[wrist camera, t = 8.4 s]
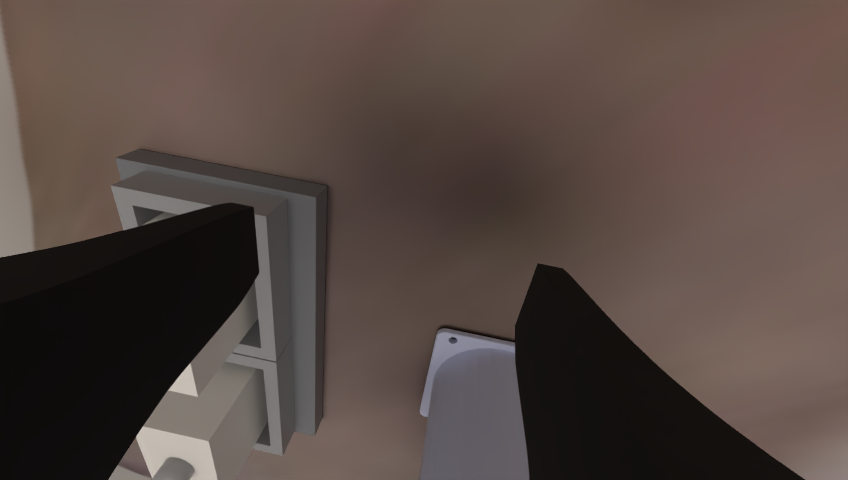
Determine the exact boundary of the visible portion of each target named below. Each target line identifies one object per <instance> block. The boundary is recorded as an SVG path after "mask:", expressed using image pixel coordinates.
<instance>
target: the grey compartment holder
mask: <svg viewBox="0 0 848 480" xmlns="http://www.w3.org/2000/svg"><path fill="white" fill-rule="evenodd" d="M115 159H116V163H117V166H118V170H119V174H120V177H121V181H120V182H118V183H115V184H113V185H111V188H112V192H113V195H114V199H115V202H116V205H117V209H118V212H119V216H120V219H121V223H122V226H123V230H127V229H131V228H135V227H138V226H142V225H144V224H145V223H147V222H149V221H150V220H152V219H154V218H155V217H157V216H159V215H160V214H162V213H164V212H168V213H173V214H178V215H180V214H184V213H187V212H191V211H195V210H198V209H202V208H206V207H210V206H214V205H218V204H223V203H229V202H232V203H237V204H242V205H247V206H252V207H254V215H255V227H256V238H257V250H258V261H259V275H258V276H257V278H256V280H255V288H256V298H257V309H258V319H257V320H256V322H255V323H254V324H253V326H252V327H251V328H250V330H249V331H248V332H247V333H246V335H245V336H244V337H243V339H242V340H241V341H240V343H239V344H238V345H237V347H236V348H235V349H234V351H233V352H232V353H231V354H230V356H229V357H228V358H227V360H226V361H225V362H224V364H223V365H222V366H221V368H220V369H219V370H218V371H217V373H216V374H215V375H214V377H213V378H212V379H211V381H210V382H209V383H208V385H207V386H206V387H205V389H204V390H203V391H202V392H201V394H200V395H199V396H198V397H196V396H191V395H187V394H183V393H178V392H174V391H169V390H168V391H167V392H166V394H165V395H164V397H163V398H162V400H161V401H160V403H159V404H158V405H157V407H156V408H155V410H154V411H153V413H152V414H151V415H150V417H149V418H148V420H147V421H146V423H145V424H144V426H143V427H142V428H141V430H140V431H139V433H138V434H137V436H136V439H137V441H138V444H139V446H140V449H141V451H142V454H143V456H144V459H145V461H146V464H147V466H148V469H149V471H150V474H151V477H152V479H151V480H236V479H237V477H238V475H239V473H240V471H241V470H242V468H243V466H244V464H245V462H246V460H247V458H248V457H249V455H250V453H251V451H252V449H255V450H259V451H264V452H268V453H273V454H277V455H282V456H283V454H284V452H285V450H286V448H287V445H288V443H289V441H290V439H291V437H292V435H293V433H294V431H295V432H300V433H304V434H309V435H313V436H315V434H316V432H317V429H318V427H319V424H320V422H321V420H322V411H323V365H324V318H325V272H326V225H327V186H326V185H321V184H316V183H311V182H306V181H301V180H296V179H291V178H285V177H280V176H275V175H270V174H265V173H260V172H255V171H250V170H244V169H239V168H234V167H229V166H224V165H219V164H214V163H209V162H203V161H198V160H193V159H188V158H183V157H178V156H173V155H168V154H162V153H157V152H152V151H147V150H142V149H138V150H135V151H132V152H130V153H127V154H124V155H122V156H119V157H116V158H115Z"/></svg>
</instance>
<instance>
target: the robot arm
mask: <svg viewBox="0 0 848 480" xmlns="http://www.w3.org/2000/svg"><path fill="white" fill-rule="evenodd" d="M258 275H259V261H258V250H257V238H256V227H255V215H254V207H252V206H247V205H242V204H237V203H232V202H229V203H223V204H218V205H214V206H210V207H206V208H202V209H198V210H195V211H191V212H187V213H184V214H180V215H177V216H173V217H170V218H166V219H163V220H159V221H156V222H152V223H149V224H145V225H142V226H138V227H135V228H131V229H127V230H123V231H119V232H115V233H111V234H108V235H104V236H100V237H96V238H92V239H88V240H84V241H80V242H76V243H71V244H67V245H62V246H58V247H53V248H48V249H43V250H38V251H33V252H28V253H23V254H18V255H12V256H7V257H1V258H0V480H108V479H109V477H110V476H111V474H112V473H113V471H114V469H115V468H116V467H117V465H118V463H119V462H120V460H121V459H122V457H123V456H124V454H125V453H126V451H127V450H128V448H129V447H130V445H131V444H132V442H133V441H134V439H135V437H136V436H137V434H138V433H139V431H140V430H141V428H142V427H143V426H144V424H145V423H146V421H147V420H148V418H149V417H150V415H151V414H152V413H153V411H154V410H155V408H156V407H157V405H158V404H159V403H160V401H161V400H162V398H163V397H164V395H165V394H166V392H167V391H168V390H169V389H170V387H171V386H172V385H173V384H174V382H175V381H176V380H177V378H178V377H179V376H180V375H181V373H182V372H183V371H184V370H185V369H186V368H187V366H188V365H189V364H190V363H191V362H192V361H193V359H194V358H195V357H196V356H197V355H198V354H199V352H200V351H201V350H202V349H203V348H204V346H205V345H206V344H207V343H208V342H209V341H210V339H211V338H212V337H213V336H214V335H215V334H216V332H217V331H218V330H219V329H220V328H221V327H222V325H223V324H224V323H225V322H226V321H227V319H228V318H229V317H230V316H231V315H232V313H233V312H234V311H235V310H236V308H237V307H238V306H239V305H240V303H241V302H242V300H243V299H244V297H245V296H246V294H247V293H248V291H249V290H250V288H251V286H252V285H253V283H254V281H255V280H256V278H257V276H258ZM451 337H454V338H456V339H451ZM420 414H421V415H423V416H425V417H428V420H427V427H426V434H425V441H424V448H423V455H422V462H421V469H420V476H419V480H805V479H803V478H802V477H800V476H799V475H798V474H796V473H795V472H793V471H792V470H790V469H789V468H787V467H786V466H785V465H783V464H782V463H780V462H779V461H777V460H776V459H775V458H773V457H772V456H770V455H769V454H768V453H766V452H765V451H764V450H762V449H761V448H759V447H758V446H757V445H755V444H754V443H753V442H751V441H750V440H749V439H747V438H746V437H745V436H743V435H742V434H741V433H739V432H738V431H737V430H735V429H734V428H732V427H731V426H730V425H728V424H727V423H726V422H725V421H723V420H722V419H721V418H719V417H718V416H717V415H716V414H714V413H713V412H712V411H710V410H709V409H708V408H707V407H705V406H704V405H703V404H702V403H701V402H699V401H698V400H697V399H696V398H695V397H693V396H692V395H691V394H690V393H689V392H687V391H686V390H685V389H684V388H683V387H682V386H680V385H679V384H678V383H677V382H676V381H674V380H673V379H672V378H671V377H670V376H669V375H667V374H666V373H665V372H664V371H663V370H662V369H661V368H660V367H659V366H657V365H656V364H655V363H654V362H653V361H652V360H651V359H650V358H649V357H648V356H647V355H646V354H645V353H644V352H643V351H642V350H641V349H640V348H639V347H638V346H636V345H635V344H634V343H633V342H632V341H631V340H630V339H629V338H628V337H627V336H626V335H625V334H624V333H623V332H622V331H621V330H620V329H619V328H618V326H617V325H616V324H615V323H614V322H613V321H612V320H611V319H610V318H609V317H608V316H607V315H606V314H605V313H604V312H603V311H602V310H601V308H600V307H599V306H598V305H597V304H596V303H595V302H594V301H593V300H592V299H591V298H590V296H589V295H588V294H587V293H586V292H585V291H584V290H583V289H582V288H581V287H580V285H579V284H578V283H577V282H576V281H575V280H574V279H573V278H572V277H571V276H570V275H569V274H568V273H567V272H566V271H565V270H564V269H563V268H558V267H553V266H548V265H543V264H537V267H536V270H535V273H534V275H533V278H532V281H531V284H530V286H529V289H528V292H527V295H526V297H525V300H524V303H523V306H522V308H521V311H520V314H519V317H518V319H517V322H516V325H515V343H514V342H509V341H504V340H499V339H495V338H490V337H485V336H480V335H475V334H471V333H466V332H461V331H456V330H451V329H447V328H443V329H440V330H438V332H437V335H436V339H435V343H434V348H433V352H432V357H431V361H430V365H429V370H428V374H427V379H426V383H425V388H424V392H423V396H422V401H421V405H420Z"/></svg>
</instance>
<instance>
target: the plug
mask: <svg viewBox="0 0 848 480" xmlns="http://www.w3.org/2000/svg"><path fill="white" fill-rule="evenodd" d="M177 215H178V214H173V213H168V212H164V213H162V214H160V215H159V216H157V217H155V218H154V219H152V220H150V221H149V222H147V223H145V224H149V223H152V222H156V221H159V220H163V219H166V218H170V217H173V216H177ZM145 224H144V225H145ZM257 319H258V309H257V298H256V288H255V281H254V283H253V285H252V286H251V288H250V290H249V291H248V293H247V294H246V296H245V297H244V299H243V300H242V302H241V303H240V305H239V306H238V307H237V308H236V310H235V311H234V312H233V313H232V315H231V316H230V317H229V318H228V319H227V321H226V322H225V323H224V324H223V325H222V327H221V328H220V329H219V330H218V331H217V332H216V334H215V335H214V336H213V337H212V338H211V339H210V341H209V342H208V343H207V344H206V345H205V346H204V348H203V349H202V350H201V351H200V352H199V354H198V355H197V356H196V357H195V358H194V359H193V361H192V362H191V363H190V364H189V365H188V366H187V368H186V369H185V370H184V371H183V372H182V373H181V375H180V376H179V377H178V378H177V380H176V381H175V382H174V384H173V385H172V386H171V387H170V389H169V391H174V392H178V393H183V394H187V395H191V396H196V397H198V396H199V395H200V394H201V392H202V391H203V390H204V389H205V387H206V386H207V385H208V383H209V382H210V381H211V379H212V378H213V377H214V375H215V374H216V373H217V371H218V370H219V369H220V368H221V366H222V365H223V364H224V362H225V361H226V360H227V358H228V357H229V356H230V354H231V353H232V352H233V351H234V349H235V348H236V347H237V345H238V344H239V343H240V341H241V340H242V339H243V337H244V336H245V335H246V333H247V332H248V331H249V330H250V328H251V327H252V326H253V324H254V323H255V322H256V320H257Z"/></svg>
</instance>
